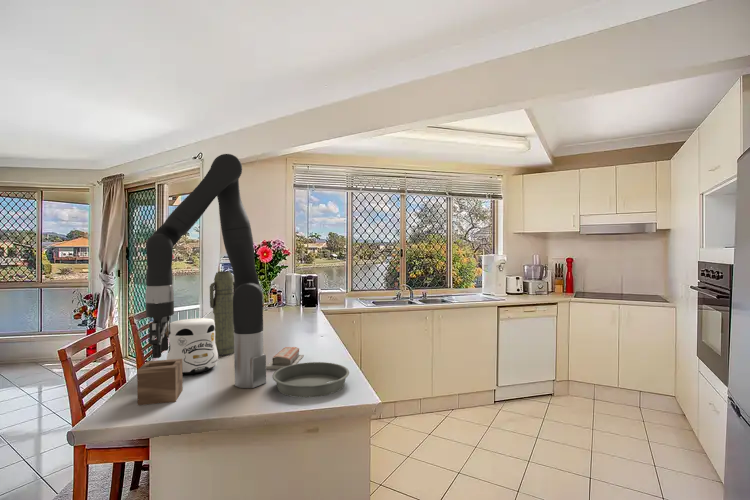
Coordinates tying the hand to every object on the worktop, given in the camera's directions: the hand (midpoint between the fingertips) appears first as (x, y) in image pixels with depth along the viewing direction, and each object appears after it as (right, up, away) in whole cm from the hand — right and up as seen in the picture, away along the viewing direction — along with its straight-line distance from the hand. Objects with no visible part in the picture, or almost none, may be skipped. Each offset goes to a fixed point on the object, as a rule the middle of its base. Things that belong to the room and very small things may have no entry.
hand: (160, 354), depth 123 cm
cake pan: (+44, -13, +9) cm, 47 cm away
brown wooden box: (0, -13, 0) cm, 13 cm away
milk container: (-2, -13, +27) cm, 31 cm away
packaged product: (+30, -13, +36) cm, 49 cm away
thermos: (0, -13, +52) cm, 54 cm away
